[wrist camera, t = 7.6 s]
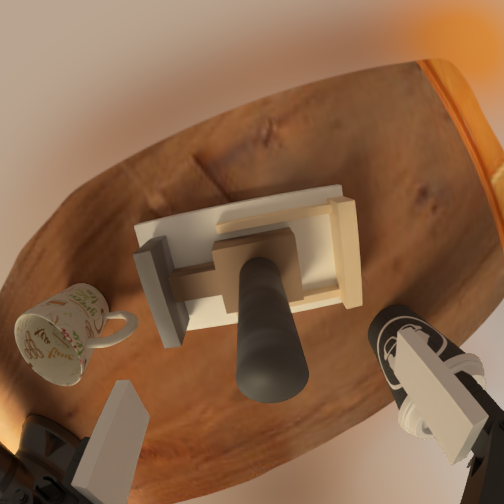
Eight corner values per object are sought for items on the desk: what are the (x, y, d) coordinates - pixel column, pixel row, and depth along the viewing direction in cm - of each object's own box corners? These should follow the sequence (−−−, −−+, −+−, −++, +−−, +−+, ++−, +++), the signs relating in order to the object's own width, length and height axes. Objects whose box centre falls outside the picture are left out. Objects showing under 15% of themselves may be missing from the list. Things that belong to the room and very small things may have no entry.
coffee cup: (350, 363, 34) (392, 455, 20) (362, 295, 31) (428, 381, 17) (413, 353, 34) (468, 428, 20) (430, 289, 32) (506, 356, 17)
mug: (51, 277, 30) (2, 314, 20) (139, 263, 30) (99, 307, 20) (74, 336, 32) (37, 383, 23) (160, 331, 32) (135, 390, 22)
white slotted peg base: (170, 327, 32) (161, 349, 28) (138, 223, 28) (121, 234, 24) (348, 295, 31) (362, 314, 27) (337, 184, 28) (353, 188, 24)
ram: (175, 320, 30) (131, 442, 15) (150, 238, 27) (62, 323, 12) (300, 299, 30) (345, 420, 14) (286, 211, 27) (341, 278, 12)
